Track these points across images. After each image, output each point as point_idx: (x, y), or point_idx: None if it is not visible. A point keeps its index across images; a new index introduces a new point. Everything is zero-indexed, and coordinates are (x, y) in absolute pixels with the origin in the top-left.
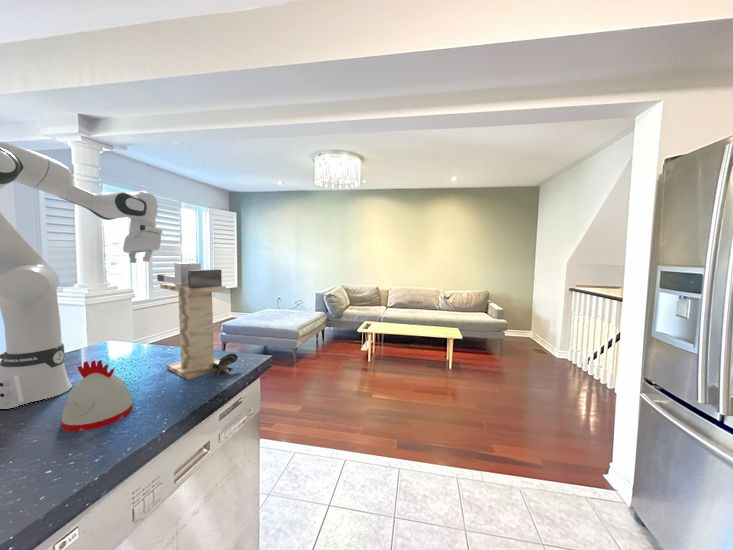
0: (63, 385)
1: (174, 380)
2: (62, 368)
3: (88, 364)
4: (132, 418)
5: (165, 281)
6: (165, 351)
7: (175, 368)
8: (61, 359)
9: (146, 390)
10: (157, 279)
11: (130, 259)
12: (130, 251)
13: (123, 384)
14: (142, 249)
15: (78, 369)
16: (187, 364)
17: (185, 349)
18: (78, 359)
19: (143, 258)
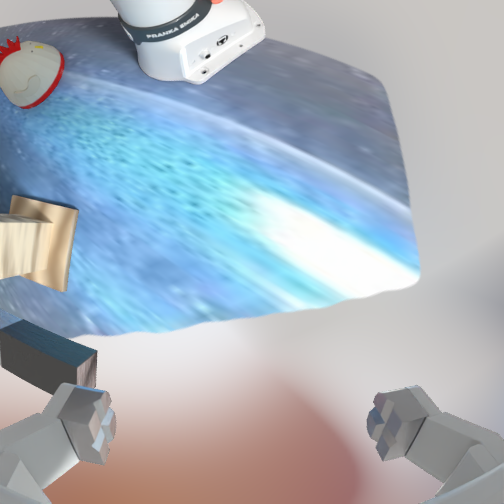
0: (140, 61)
1: (31, 183)
2: (139, 48)
3: (8, 45)
4: (6, 99)
5: (6, 313)
6: (193, 291)
7: (47, 205)
8: (129, 37)
9: (39, 139)
10: (93, 353)
11: (421, 404)
12: (485, 475)
13: (1, 87)
14: (23, 496)
15: (18, 38)
16: (28, 217)
17: (14, 218)
18: (334, 160)
19: (86, 406)
